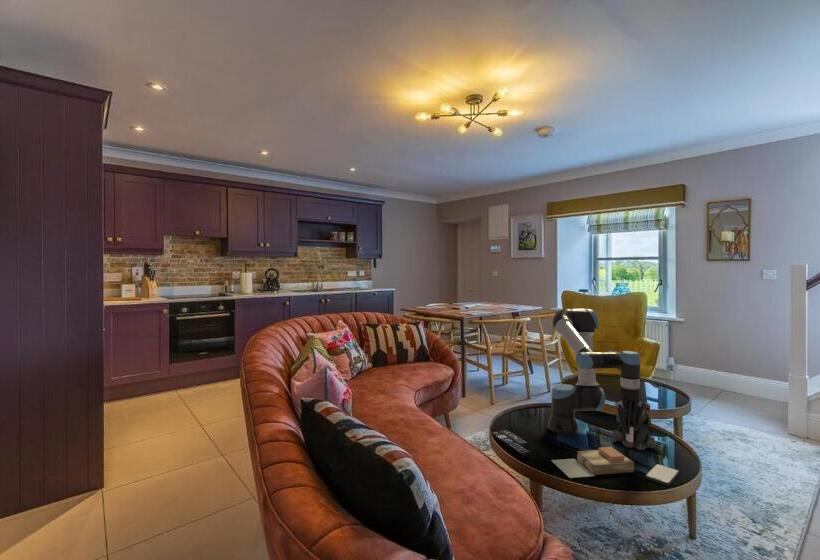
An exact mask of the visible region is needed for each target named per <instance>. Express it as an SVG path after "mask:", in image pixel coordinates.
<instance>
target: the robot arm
mask: <svg viewBox="0 0 820 560" xmlns="http://www.w3.org/2000/svg"><path fill="white" fill-rule="evenodd" d="M599 323H600V322H599V317H598V315H597V313H596V312H595V310H593V309H591V308H584V307H583V308H562V309H560V310H558V311H556V312H555V314H554V316H553V319H552V326H553V328H554V330H555V331H556V333H558V334H560V336H562V337H563V339H564V340H565V341H566V343H567V344H568V346H569V347H570V348H571V350H572V351H573V352H574V354H575V362H576V366H577V377H578V381H577V383H575V386H574V385H572V384H567V383H563V384H562V383H561V384H557V385H555V386H553V387H552V389H551V394H550V395H551V397H550V398H551V414H550V417H549V420H548V422H547V429H548V428H549V429H550V430H551V431H552V433H555V434H556V433H557V435H561V436H574V435H577V434H578V433H579V425H578V422H577V420H576V414H575V413H576V411H578V412H579V411H580V412H581V411H582V412H583V411H592V412H594V411H600V410H602V409H603V408H604V407H605V403H606V394H605V391H604V389H603V388H602V387H600V384H599V382H597V381H596V380H597V379H596V378H597V376H596V370H599V369H600V370H604V369H605V370H606V369H607V370H609V369H610V370H611V369H614V370H619V372H620V380H619V382H620V383H619V385H620V388H619V390H620V391H619V392H620V400H619V402H615V403H614V405H615V407H616V409H617V414H618V415H619V419H620V423H619V424H622V425H624V426H625V433H626V440H627V441H629V442H633V434H634V433H635V428H636V427H637V426H636V425H639V423H640V419H641V414H642V410H643V407H644V406H645V404H644V402H642V401H641V402H640V400H641V398H640V396H641V390H640V387H641V364H642V363H641V355H640V353H639V352H637V351H632V350H623V351H621V352H620V351H618V350H608V351H597V352H595V351H594V344H593V342H594V341H593V336H594V334H595V333H596V330H598V329H599ZM639 398H640V399H639ZM622 405H623V406H622ZM622 407H623V408H622ZM623 409H624V410H623ZM549 429H548V430H549ZM550 430H549V431H550ZM551 431H550V432H551Z"/></svg>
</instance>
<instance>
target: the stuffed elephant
mask: <svg viewBox="0 0 820 560" xmlns="http://www.w3.org/2000/svg"><path fill="white" fill-rule="evenodd" d="M639 399H640V402H642V401H641V398H640V397H639ZM643 403H644V402H643ZM644 404H645V406H644V407H643V410H642V414H641V419H640V423H639V425H636V426H637V427H636V428H635V433H634V434H633V442H629V441H627V440H626V433H625V426H624V425H622V424H621V423H620V419H619V415H618V413H617V415H616V418H615V420H616V422H617V423H618V424H619V425H618V427H617V429H614V430H612V433H611V434H612V438H613V439H614V440H615V441H616V442H619V443H621V444H622V445H623V446H624V447H625V448H626V449H627V448H628V449H632V448H635V449H636V450H639V451H645V450H646V448H647V449H651V448H654V447H655V445H656V439H655V438H654V437H653V436H650V435H651V434H650V432H649V429H648V427H651V426H652V419H651V416H650V410H651V405H650V404H649V403H646V402H645V403H644ZM622 406H623V405H622ZM622 408H623V407H622ZM623 410H624V409H623Z"/></svg>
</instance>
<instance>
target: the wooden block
mask: <svg viewBox="0 0 820 560" xmlns="http://www.w3.org/2000/svg"><path fill="white" fill-rule="evenodd" d="M598 450H599V449H593V450H592V449H591V450H590V449H589V450H577V451H576V452H577V454H576V455H577V456H576V460H577V461H578V462H579V463H580V464H581V465H583V466H584V467H585V468H586V469H587V470H588V471H590V472H591V473H592V474H593V475H594V476H596V475H598V476H599V475H611V474H623V473H633V472H635V462H634V461H633V460H631V459H630V458H628V457H627V456H625V455H624V461H613V462H611V461H610V460H609V459H607V458H606V457H605V456H603V455H602V454H600V453H599V452H598ZM615 450H616V449H615ZM616 451H618V450H616Z"/></svg>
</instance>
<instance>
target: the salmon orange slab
mask: <svg viewBox="0 0 820 560" xmlns="http://www.w3.org/2000/svg"><path fill="white" fill-rule="evenodd" d="M597 450H598V452H599V453H600V454H602V455H603V456H605V457H606V458H607V459H609V460H610V461H611V462H613V461H624V456H625V455H624V454H622V453H621V452H620V451H618V450H617V451H616V449H615V448H613V447H612V446H602V447H601V446H600V447H598V449H597Z"/></svg>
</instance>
